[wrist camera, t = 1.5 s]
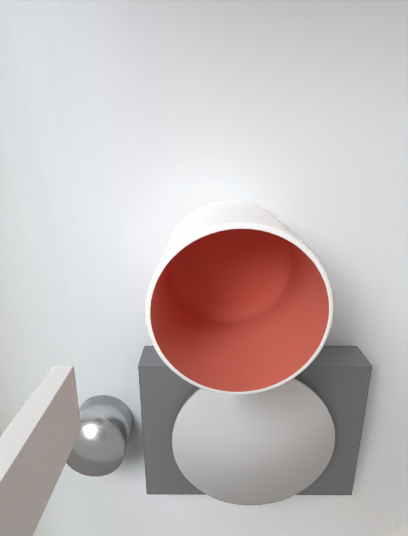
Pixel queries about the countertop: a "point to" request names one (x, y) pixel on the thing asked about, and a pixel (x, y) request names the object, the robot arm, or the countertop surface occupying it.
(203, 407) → the scale
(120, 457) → the cylinder
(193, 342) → the cup
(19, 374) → the countertop surface
